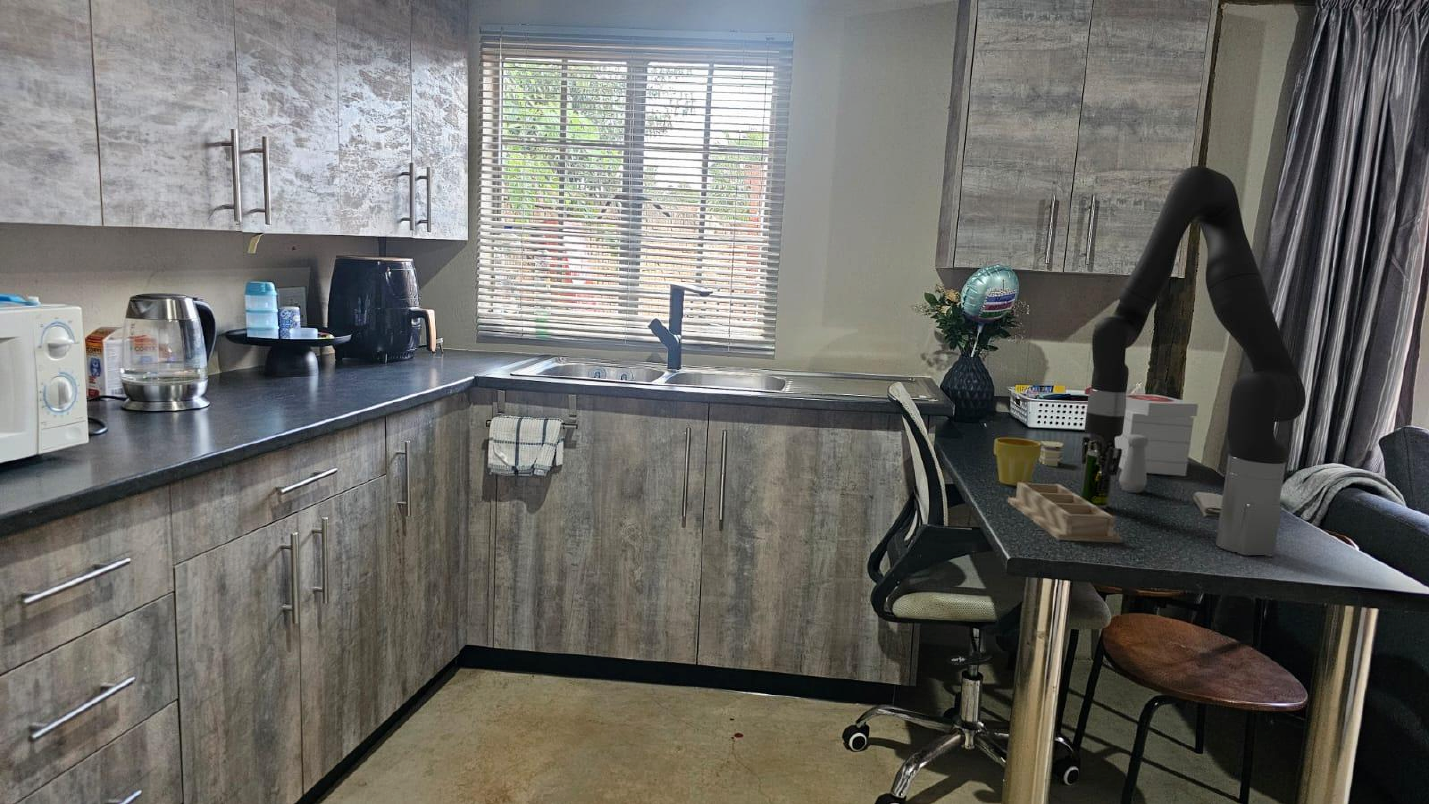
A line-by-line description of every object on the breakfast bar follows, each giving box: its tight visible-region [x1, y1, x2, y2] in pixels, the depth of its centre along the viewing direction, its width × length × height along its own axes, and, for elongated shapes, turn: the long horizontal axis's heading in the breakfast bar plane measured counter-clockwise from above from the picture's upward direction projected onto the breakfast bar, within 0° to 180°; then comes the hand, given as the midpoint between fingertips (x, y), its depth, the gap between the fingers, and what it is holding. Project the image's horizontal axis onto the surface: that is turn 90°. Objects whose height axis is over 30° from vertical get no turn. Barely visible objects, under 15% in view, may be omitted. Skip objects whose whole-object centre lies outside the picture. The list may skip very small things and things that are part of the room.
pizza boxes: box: [1115, 393, 1199, 477], centre depth 258 cm, size 19×30×18 cm, turn 176°
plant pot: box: [993, 437, 1042, 487], centre depth 224 cm, size 10×10×10 cm
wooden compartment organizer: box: [1007, 482, 1123, 544], centre depth 193 cm, size 27×12×4 cm, turn 3°
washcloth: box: [1192, 491, 1223, 520], centre depth 211 cm, size 12×18×3 cm, turn 162°
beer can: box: [1080, 448, 1114, 510], centre depth 207 cm, size 5×5×12 cm
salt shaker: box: [1118, 434, 1148, 494], centre depth 224 cm, size 6×6×13 cm
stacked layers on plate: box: [1038, 440, 1064, 467], centre depth 250 cm, size 10×9×6 cm
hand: (1096, 489), depth 208 cm, fingers closed on beer can, 5 cm apart
